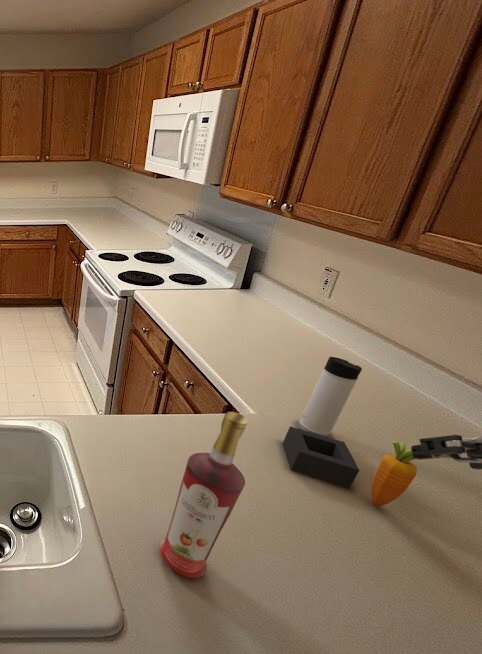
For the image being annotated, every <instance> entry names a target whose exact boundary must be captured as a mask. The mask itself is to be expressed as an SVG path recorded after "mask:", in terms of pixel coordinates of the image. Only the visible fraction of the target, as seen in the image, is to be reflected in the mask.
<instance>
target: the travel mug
mask: <svg viewBox="0 0 482 654" xmlns="http://www.w3.org/2000/svg"><path fill="white" fill-rule="evenodd" d="M362 371H363V368H362V366H359V365H358V364H353V363H352V362H349V361H348V360H346V359H343V358H340V357H335V356H329V357H328V359H327V361H326V363H325V366H324V367H323V370H322V371H321V374H320V376H319V378H318V380H317V382H316V385H315V386H314V389H313V391H312V393H311V395H310V397H309V400H308V402H307V404H306V406H305V409H304V411H303V413H302V415H301V416H300V417H301V418H300V420H299V421H298V423H297V424H298V427H299V429H301V430H305V431H308V432H311V433H315V434H318V435H322V436H325V437H329V438H330V435H331V433H332V430H333V429H334V427H335V425H336V423H337V421H338V419H339V417H340V415H341V412H342V411H343V409H344V407H345V405H346V403H347V401H348V399H349V397H350V395H351V392H352V391H353V389H354V387H355V386H356V383H357V380H358V379H359V376H360V374H361V372H362Z"/></svg>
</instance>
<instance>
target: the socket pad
mask: <svg viewBox="0 0 482 654" xmlns="http://www.w3.org/2000/svg"><path fill="white" fill-rule="evenodd" d="M282 447H283V450H284V453H285V457H286V459H287V463H288V466H289V469H290V471H292V472H295V473H299V474H302V475H305V476H308V477H311V478H314V479H317V480H321V481H324V482H327V483H329V484H333V485H336V486H339V487H342V488H345V489H348V490H350V489H351V487H352V485H353V483H354V481H355V479H356V478H357V476H358V474H359V473H360V468H359V467H358V465H357V463H356V461H355V459H354V457H353V455H352V454H351V451H350V450H349V448H348V446H347V444H346V443H345V441H343V440H339V439H335V438H332V437H330V436H329V437H325V436H322V435H318V434H315V433H311V432H308V431H305V430H302V429H301V428H297V427H294V426H291V425H290V426H289V427H288V430H287V432H286V435H285V436H284V439H283V441H282Z"/></svg>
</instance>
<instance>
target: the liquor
mask: <svg viewBox="0 0 482 654" xmlns="http://www.w3.org/2000/svg"><path fill="white" fill-rule="evenodd" d="M248 422H249V420H248V418H246V417H245V416H244V415H243V414H241V413H238V412H235V411H226V412H225V414H224V416H223V418H222V422H221V425H220V433H219V434H218V436H217V439H216V440H215V442H214V444H213V446H212V448H211V449H210V451H209V452H196V453H193V454H191V455H190V456H189V457H188V458H187V463H186V465H185V469H184V473H183V477H182V480H181V483H180V486H179V491H178V495H177V499H176V501H175V502H176V503H175V506H174V510H173V513H172V517H171V521H170V523H169V526H168V530H167V533H166V536H165V538H164V539H162V541H161V542H160V544H159V552H160V556H161V557H162V559H163V561H164V562H165V563H166V565H168V566H169V567H170V568H171V569H172V571H174V572H176V573H178V574H180V575H182V576H184V577H188V578H200V577H202V576H204V575H205V574H206V572H207V567H208V565H207V560H208V559H209V556H210V554H211V552H212V549H213V548H214V546H215V544H216V542H217V541H218V537H219V535H220V533H221V532H222V530H223V528H224V526H225V525H226V522H227V521H228V519H229V517H230V516H231V513H232V511H233V509H234V507H235V505H236V503H237V502H238V499H239V497H240V495H241V494H242V492H243V490H244V488H245V485H246V479H245V476H244V474H243V473H242V472H241V470H240V469H239V468H238V467H237V466H236V465H235V464H234V458H235V455H236V451H237V447H238V445H239V441H240V439H241V437H242V435H243V434H244V432H245V430H246V427H247V425H248Z"/></svg>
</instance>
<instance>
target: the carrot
mask: <svg viewBox="0 0 482 654" xmlns="http://www.w3.org/2000/svg"><path fill="white" fill-rule="evenodd" d="M392 445H393V447H394V452H395V454H385V455H383V456H382V459H381V460H380V462H379V464H378V466H377V469H376V471H375V472H374V476H373V479H372V483H371V484H372V485H371V491H370V494H371V495H370V496H371V502H372V504H373V506H374V507H382V506H385V505H388V504H390V503H392V502H394V501H396V500H397V498H399V497H400V496H401V495H402V494H403V493H404V492H405V491H406V490H407V489H408V487H409V486H410V485H411V483H412V482H413V480H415V478H416V477H417V473H418V467H417V466H416V464H414V463H413V462H411V461H414V460H415V459H414V458H413V455H412V451H411V448H410V449H406V442H401V443H399V442H398V441H397V440H393V441H392Z"/></svg>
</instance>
